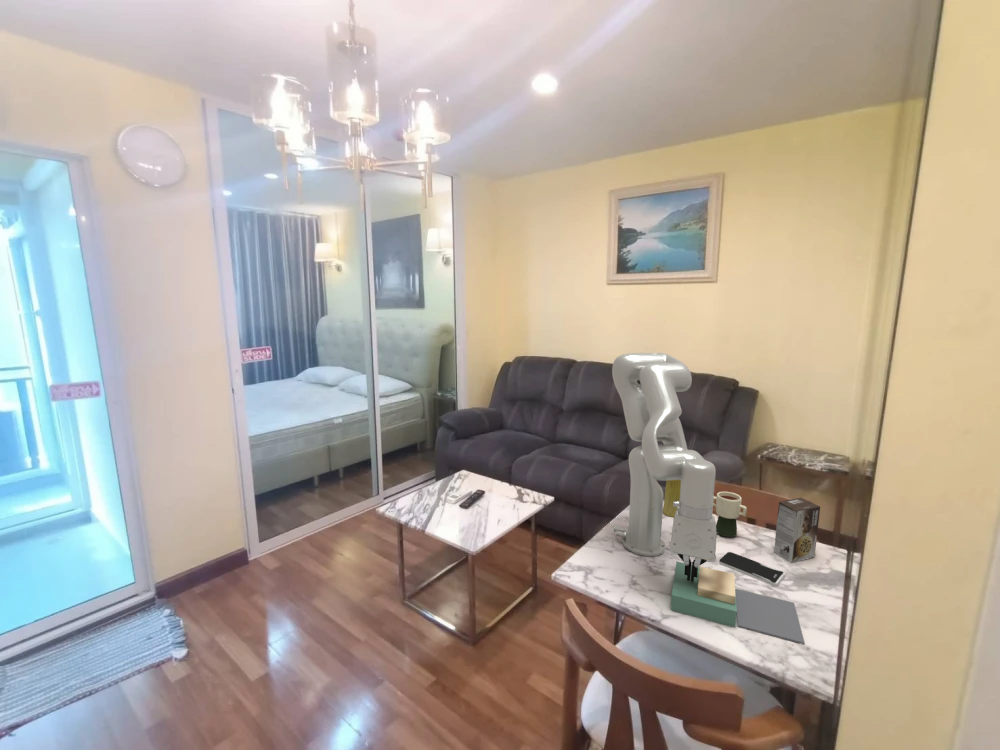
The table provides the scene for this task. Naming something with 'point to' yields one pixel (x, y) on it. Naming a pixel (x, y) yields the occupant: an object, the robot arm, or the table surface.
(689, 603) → the green flat block
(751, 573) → the smartphone
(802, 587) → the table surface
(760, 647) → the table surface
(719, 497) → the character mug
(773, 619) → the rubber mat
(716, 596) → the oak tile
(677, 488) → the vase
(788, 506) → the coffee box
